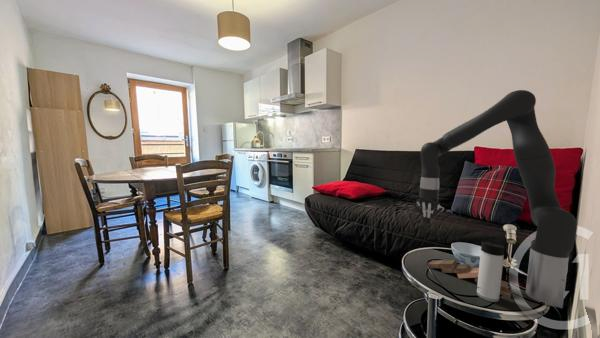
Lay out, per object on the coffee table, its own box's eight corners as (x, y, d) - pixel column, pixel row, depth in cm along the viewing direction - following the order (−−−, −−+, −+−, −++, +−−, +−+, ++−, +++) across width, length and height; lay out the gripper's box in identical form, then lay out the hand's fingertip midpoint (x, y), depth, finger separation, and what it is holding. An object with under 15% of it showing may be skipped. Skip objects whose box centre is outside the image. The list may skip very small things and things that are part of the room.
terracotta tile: (461, 274, 99) (488, 272, 92) (458, 278, 95) (485, 276, 89) (459, 269, 99) (485, 267, 93) (456, 273, 96) (483, 271, 89)
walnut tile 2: (445, 268, 103) (470, 268, 96) (442, 272, 100) (468, 273, 93) (444, 264, 103) (469, 264, 97) (440, 268, 100) (466, 268, 93)
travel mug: (473, 295, 84) (478, 241, 82) (480, 289, 88) (485, 238, 86) (495, 305, 79) (501, 248, 77) (501, 298, 83) (507, 243, 81)
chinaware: (498, 275, 98) (500, 258, 98) (459, 272, 100) (461, 254, 100) (477, 259, 113) (479, 243, 112) (444, 256, 115) (445, 241, 115)
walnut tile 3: (477, 277, 95) (508, 287, 88) (474, 281, 91) (506, 292, 85) (477, 272, 95) (508, 282, 88) (475, 277, 91) (507, 288, 84)
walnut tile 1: (433, 264, 107) (456, 264, 100) (429, 268, 103) (453, 268, 96) (432, 260, 107) (455, 260, 100) (428, 263, 103) (452, 263, 97)
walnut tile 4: (480, 283, 94) (512, 295, 86) (477, 287, 90) (509, 300, 83) (481, 279, 93) (512, 290, 86) (477, 283, 90) (510, 295, 83)
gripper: (410, 186, 107) (408, 223, 108) (442, 190, 97) (440, 231, 98) (417, 184, 112) (415, 220, 113) (449, 188, 102) (446, 227, 103)
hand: (427, 225), depth 106 cm, fingers closed
